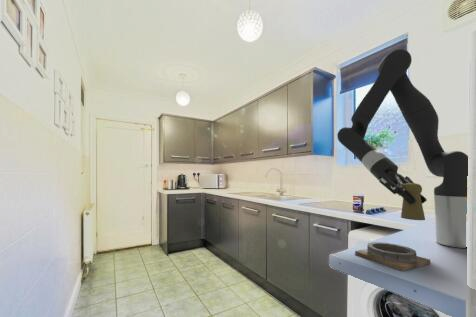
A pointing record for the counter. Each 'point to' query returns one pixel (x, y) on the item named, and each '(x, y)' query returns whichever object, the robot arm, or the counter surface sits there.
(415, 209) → the brown tapered knobbed cylinder
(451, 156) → the robot arm
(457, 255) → the counter surface
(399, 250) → the spice stand
